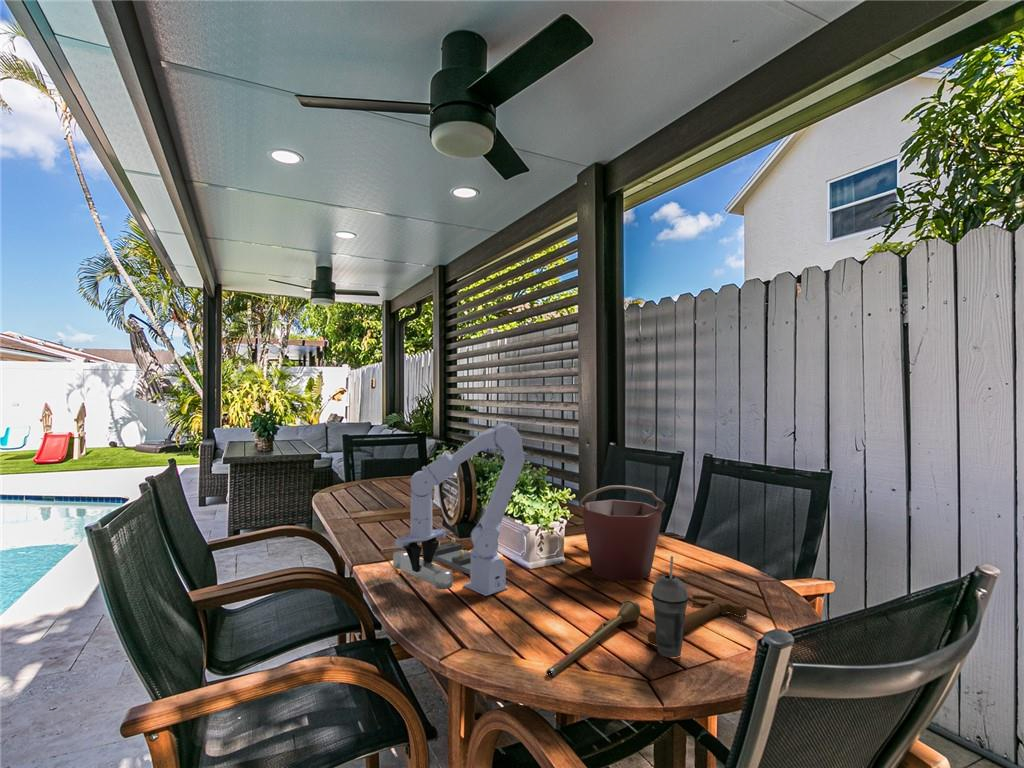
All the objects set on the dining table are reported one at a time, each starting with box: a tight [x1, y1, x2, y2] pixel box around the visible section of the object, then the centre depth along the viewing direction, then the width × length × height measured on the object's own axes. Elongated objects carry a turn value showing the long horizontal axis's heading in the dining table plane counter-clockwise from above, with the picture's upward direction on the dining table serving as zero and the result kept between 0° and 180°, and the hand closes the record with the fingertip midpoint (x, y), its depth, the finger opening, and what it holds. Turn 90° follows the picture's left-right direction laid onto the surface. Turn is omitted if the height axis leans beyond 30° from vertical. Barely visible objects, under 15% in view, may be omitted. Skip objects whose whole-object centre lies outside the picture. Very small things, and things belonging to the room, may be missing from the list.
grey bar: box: [392, 550, 453, 590], centre depth 140 cm, size 24×4×4 cm, turn 44°
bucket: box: [578, 484, 667, 582], centre depth 156 cm, size 24×22×25 cm
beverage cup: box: [650, 555, 689, 658], centre depth 108 cm, size 7×7×20 cm
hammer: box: [647, 594, 748, 645], centre depth 122 cm, size 12×3×30 cm
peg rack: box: [421, 537, 471, 575], centre depth 164 cm, size 24×10×5 cm, turn 44°
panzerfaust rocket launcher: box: [545, 599, 642, 677], centre depth 113 cm, size 5×35×5 cm
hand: (421, 569), depth 140 cm, fingers closed on grey bar, 3 cm apart
